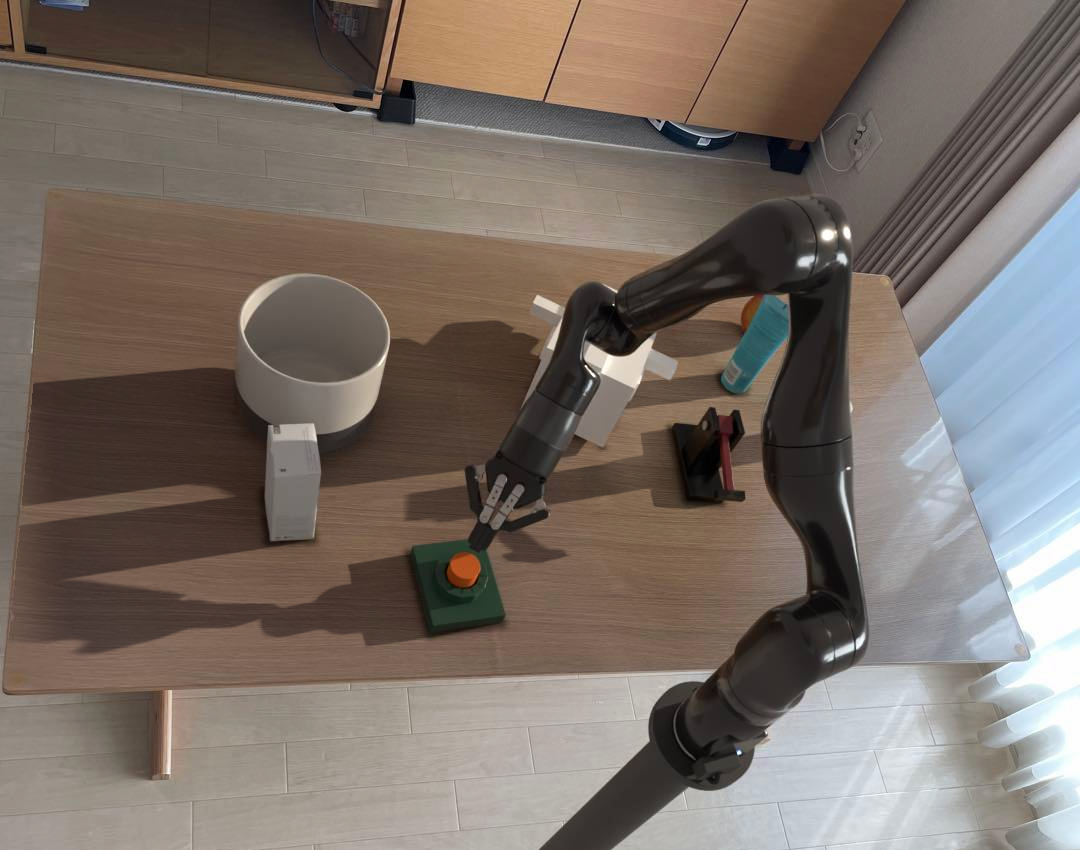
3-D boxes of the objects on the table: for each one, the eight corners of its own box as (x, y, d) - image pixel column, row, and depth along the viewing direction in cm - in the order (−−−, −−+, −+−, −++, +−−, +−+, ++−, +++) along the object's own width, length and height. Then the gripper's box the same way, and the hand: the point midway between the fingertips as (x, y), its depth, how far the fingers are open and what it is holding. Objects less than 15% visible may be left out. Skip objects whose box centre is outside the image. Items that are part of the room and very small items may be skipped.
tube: (756, 387, 173) (811, 309, 157) (745, 402, 170) (800, 325, 154) (720, 363, 173) (771, 283, 158) (709, 378, 171) (759, 298, 155)
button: (479, 586, 132) (483, 576, 130) (450, 590, 130) (454, 580, 128) (471, 560, 133) (476, 550, 131) (443, 563, 132) (447, 553, 130)
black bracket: (721, 503, 156) (755, 459, 147) (686, 500, 154) (718, 456, 145) (704, 431, 163) (736, 385, 154) (671, 428, 162) (700, 381, 152)
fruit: (781, 336, 182) (802, 305, 175) (758, 356, 177) (779, 325, 171) (748, 309, 183) (767, 278, 177) (724, 328, 179) (744, 296, 172)
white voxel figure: (671, 362, 173) (632, 469, 154) (540, 300, 172) (485, 400, 154) (707, 297, 162) (670, 404, 143) (567, 231, 161) (512, 330, 143)
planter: (355, 356, 152) (372, 271, 138) (385, 459, 143) (405, 380, 129) (223, 363, 144) (226, 274, 130) (245, 473, 135) (251, 390, 121)
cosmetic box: (313, 540, 133) (325, 477, 121) (266, 542, 130) (273, 478, 119) (306, 487, 137) (317, 421, 125) (261, 489, 135) (267, 422, 123)
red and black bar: (740, 503, 149) (747, 497, 146) (712, 501, 147) (719, 495, 145) (731, 423, 153) (738, 416, 151) (704, 420, 152) (711, 413, 150)
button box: (502, 622, 134) (509, 608, 131) (429, 633, 130) (435, 619, 127) (479, 545, 139) (486, 530, 136) (409, 553, 136) (414, 538, 132)
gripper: (491, 407, 124) (424, 527, 127) (583, 461, 124) (514, 580, 126) (500, 407, 132) (436, 520, 134) (587, 458, 131) (522, 570, 134)
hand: (474, 549), depth 130 cm, fingers closed
